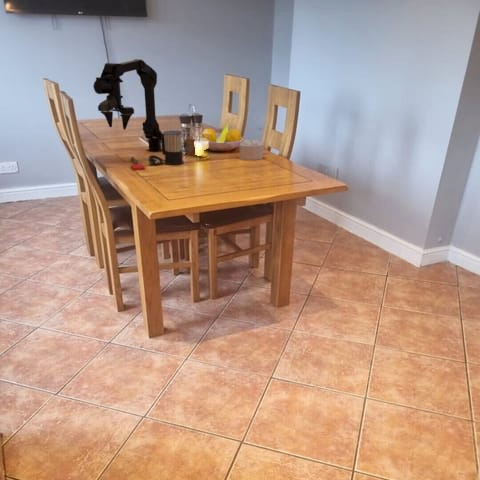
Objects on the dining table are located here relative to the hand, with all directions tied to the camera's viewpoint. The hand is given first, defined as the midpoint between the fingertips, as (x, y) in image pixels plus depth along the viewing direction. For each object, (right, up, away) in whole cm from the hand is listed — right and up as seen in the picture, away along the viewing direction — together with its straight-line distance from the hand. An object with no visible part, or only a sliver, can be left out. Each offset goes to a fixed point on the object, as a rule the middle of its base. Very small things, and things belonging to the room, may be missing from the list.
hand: (117, 128), depth 224 cm
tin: (+36, -6, +21) cm, 42 cm away
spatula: (+9, -18, +1) cm, 20 cm away
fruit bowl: (+50, +4, +36) cm, 62 cm away
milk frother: (+23, -16, +4) cm, 29 cm away
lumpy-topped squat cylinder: (+66, -8, +19) cm, 69 cm away
